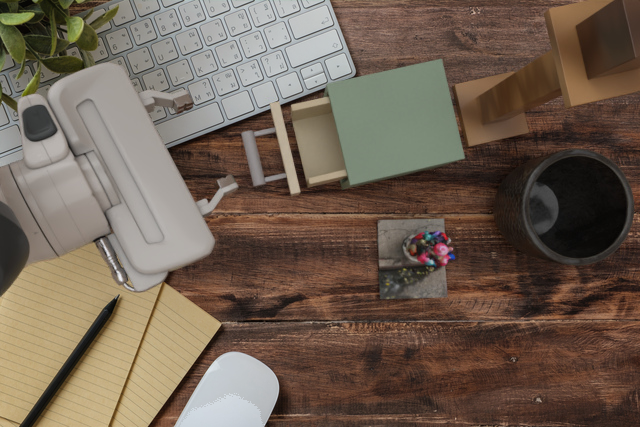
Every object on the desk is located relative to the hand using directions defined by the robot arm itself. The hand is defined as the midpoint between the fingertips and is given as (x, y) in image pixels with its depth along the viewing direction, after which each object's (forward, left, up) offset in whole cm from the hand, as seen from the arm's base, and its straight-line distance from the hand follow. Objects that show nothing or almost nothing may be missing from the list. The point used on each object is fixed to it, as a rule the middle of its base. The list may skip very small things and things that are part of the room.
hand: (212, 140), depth 48 cm
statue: (+19, +21, -19) cm, 34 cm away
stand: (+1, +37, -19) cm, 42 cm away
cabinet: (+1, +21, -19) cm, 28 cm away
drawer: (+1, +11, -18) cm, 21 cm away
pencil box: (+1, +37, +7) cm, 38 cm away
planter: (+16, +39, -19) cm, 46 cm away
